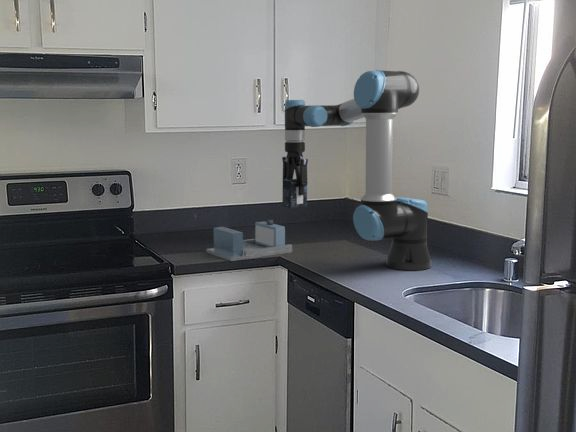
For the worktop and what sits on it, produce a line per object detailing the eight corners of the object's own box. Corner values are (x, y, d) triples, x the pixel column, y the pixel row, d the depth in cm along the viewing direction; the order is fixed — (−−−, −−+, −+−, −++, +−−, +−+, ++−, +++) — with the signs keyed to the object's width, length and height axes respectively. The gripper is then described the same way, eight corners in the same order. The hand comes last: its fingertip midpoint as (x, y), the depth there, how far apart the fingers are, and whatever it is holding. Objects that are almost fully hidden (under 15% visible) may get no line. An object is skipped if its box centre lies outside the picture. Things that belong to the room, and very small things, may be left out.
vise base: (292, 252, 274) (292, 227, 272) (231, 261, 259) (231, 235, 258) (265, 244, 288) (265, 220, 287) (206, 252, 274) (206, 227, 272)
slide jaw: (284, 248, 274) (284, 222, 273) (274, 249, 272) (274, 223, 270) (264, 241, 286) (264, 217, 284) (254, 243, 283) (254, 218, 281)
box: (290, 208, 278) (290, 180, 277) (282, 207, 283) (281, 179, 282) (307, 207, 283) (307, 179, 281) (299, 205, 287) (299, 178, 286)
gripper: (317, 142, 273) (317, 204, 277) (289, 139, 289) (289, 199, 292) (301, 143, 269) (300, 206, 273) (272, 140, 284) (273, 200, 288)
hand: (294, 202), depth 283 cm, fingers closed on box, 6 cm apart
